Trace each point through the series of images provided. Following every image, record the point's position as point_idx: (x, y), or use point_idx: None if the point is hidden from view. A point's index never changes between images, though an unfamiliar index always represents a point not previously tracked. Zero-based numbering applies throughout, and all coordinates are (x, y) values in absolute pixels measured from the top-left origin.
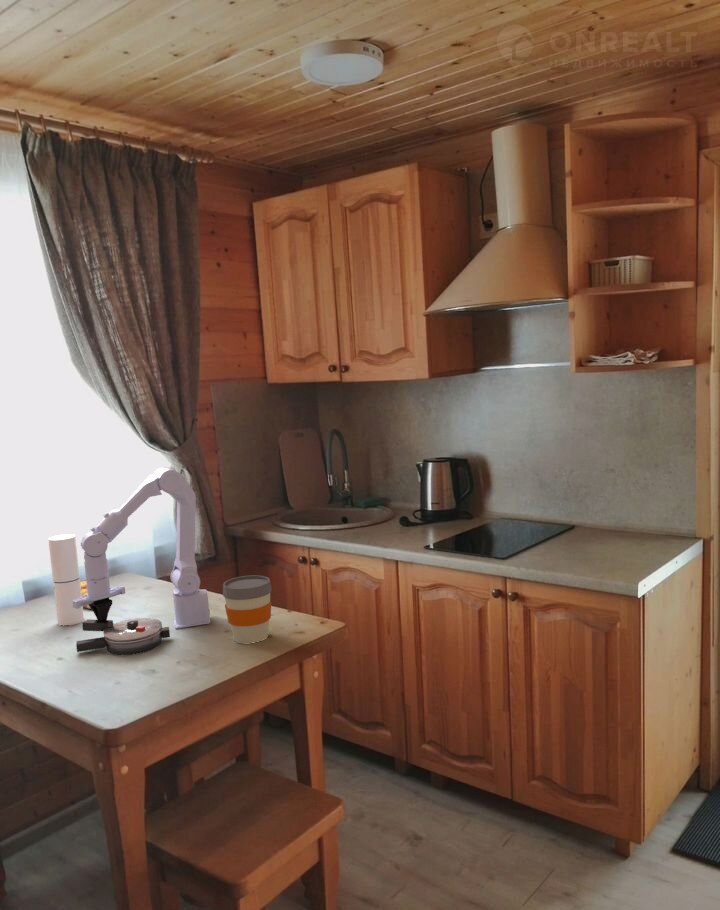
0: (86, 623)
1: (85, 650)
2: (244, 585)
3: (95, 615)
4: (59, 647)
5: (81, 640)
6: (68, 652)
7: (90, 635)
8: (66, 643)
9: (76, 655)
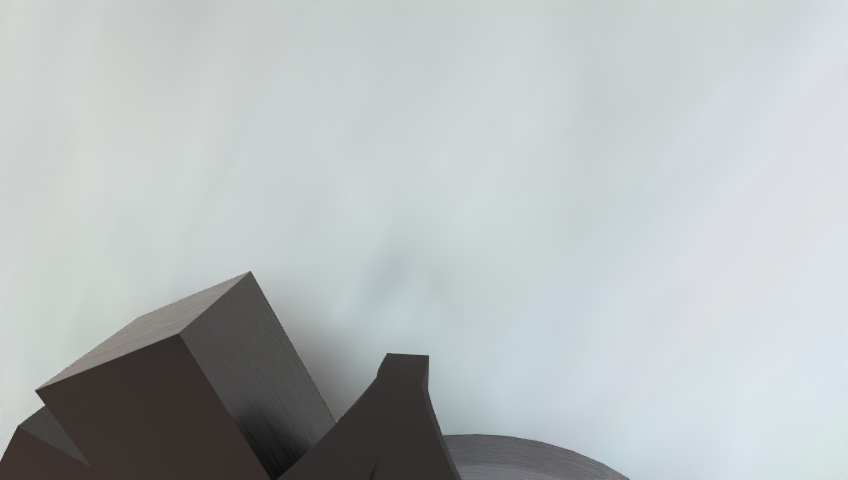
0: (98, 452)
1: None
2: None
3: (303, 457)
4: (32, 56)
5: (64, 453)
6: (53, 275)
7: (438, 28)
8: (132, 8)
9: None
